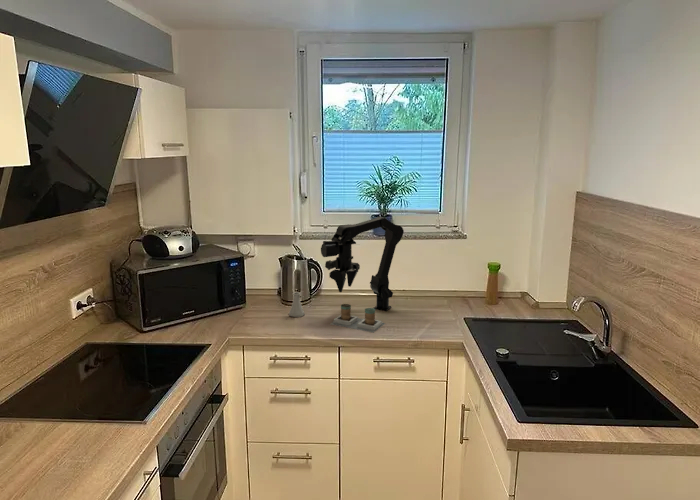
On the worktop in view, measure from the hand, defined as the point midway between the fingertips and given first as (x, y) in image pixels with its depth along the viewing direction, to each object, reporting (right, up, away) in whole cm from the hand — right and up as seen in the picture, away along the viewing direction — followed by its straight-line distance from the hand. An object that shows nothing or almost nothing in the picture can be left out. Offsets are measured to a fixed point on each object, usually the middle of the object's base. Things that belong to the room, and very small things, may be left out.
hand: (345, 289), depth 222 cm
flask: (-21, -12, +2) cm, 24 cm away
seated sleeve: (+10, -14, -14) cm, 22 cm away
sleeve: (0, -13, -9) cm, 16 cm away
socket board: (+5, -15, -11) cm, 19 cm away
